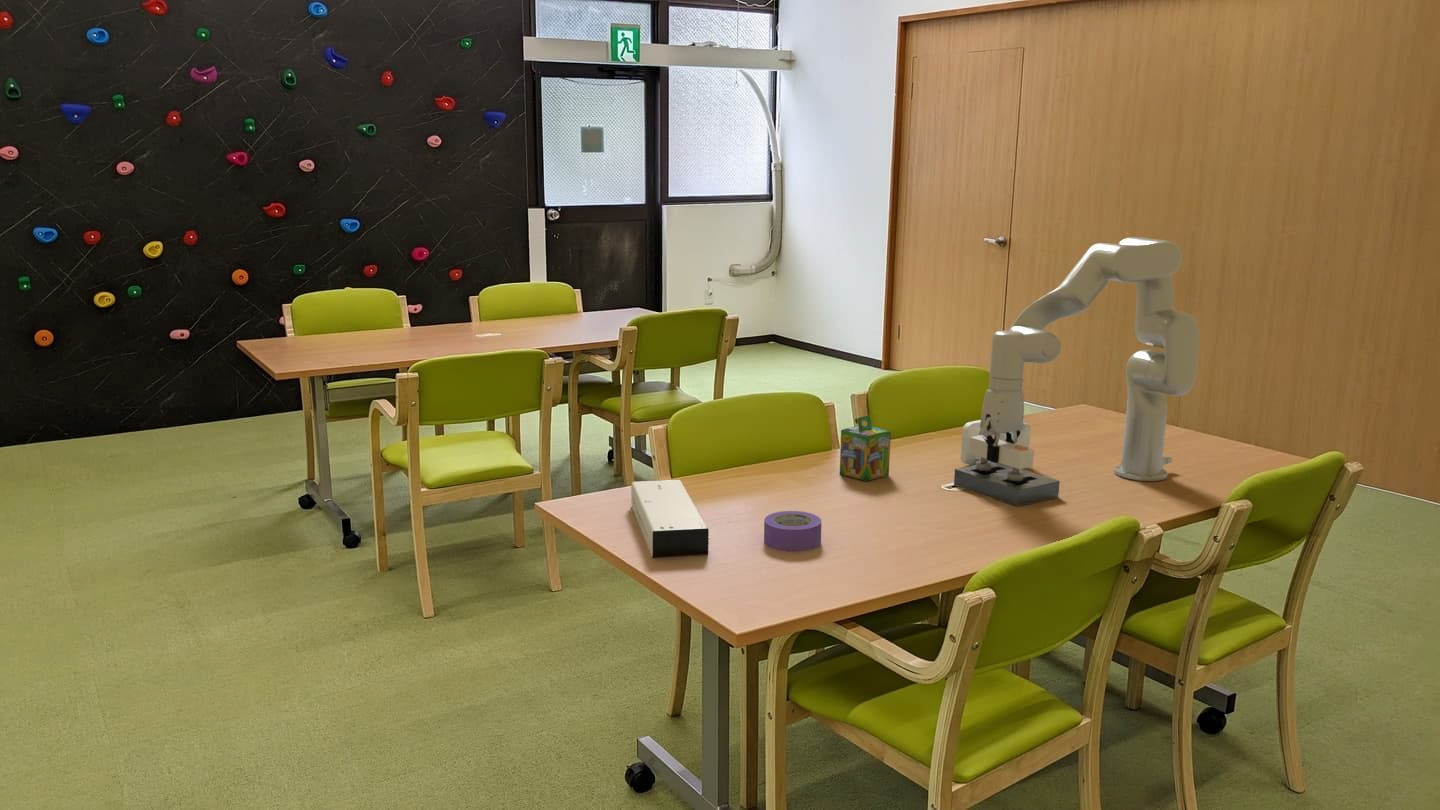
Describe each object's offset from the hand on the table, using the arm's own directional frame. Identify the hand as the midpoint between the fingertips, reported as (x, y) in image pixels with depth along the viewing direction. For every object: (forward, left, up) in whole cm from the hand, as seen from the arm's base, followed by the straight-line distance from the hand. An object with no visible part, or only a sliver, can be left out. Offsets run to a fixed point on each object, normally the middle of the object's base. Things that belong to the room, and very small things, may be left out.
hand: (1000, 459), depth 270 cm
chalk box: (+17, -28, -8) cm, 34 cm away
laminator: (+80, -18, -9) cm, 82 cm away
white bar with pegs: (0, 0, -4) cm, 4 cm away
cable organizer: (-17, -17, -9) cm, 25 cm away
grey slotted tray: (-3, 0, -8) cm, 9 cm away
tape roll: (+62, +2, -9) cm, 63 cm away
